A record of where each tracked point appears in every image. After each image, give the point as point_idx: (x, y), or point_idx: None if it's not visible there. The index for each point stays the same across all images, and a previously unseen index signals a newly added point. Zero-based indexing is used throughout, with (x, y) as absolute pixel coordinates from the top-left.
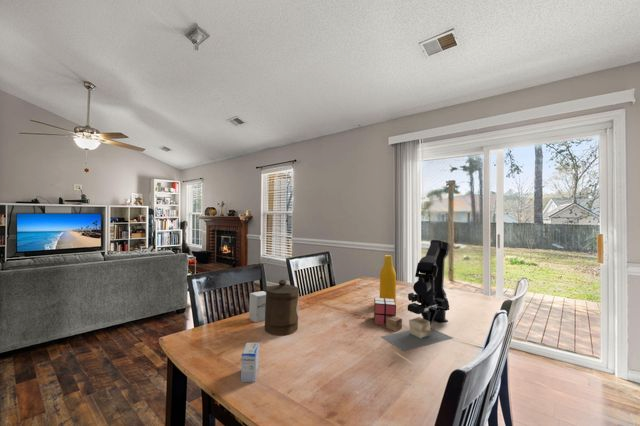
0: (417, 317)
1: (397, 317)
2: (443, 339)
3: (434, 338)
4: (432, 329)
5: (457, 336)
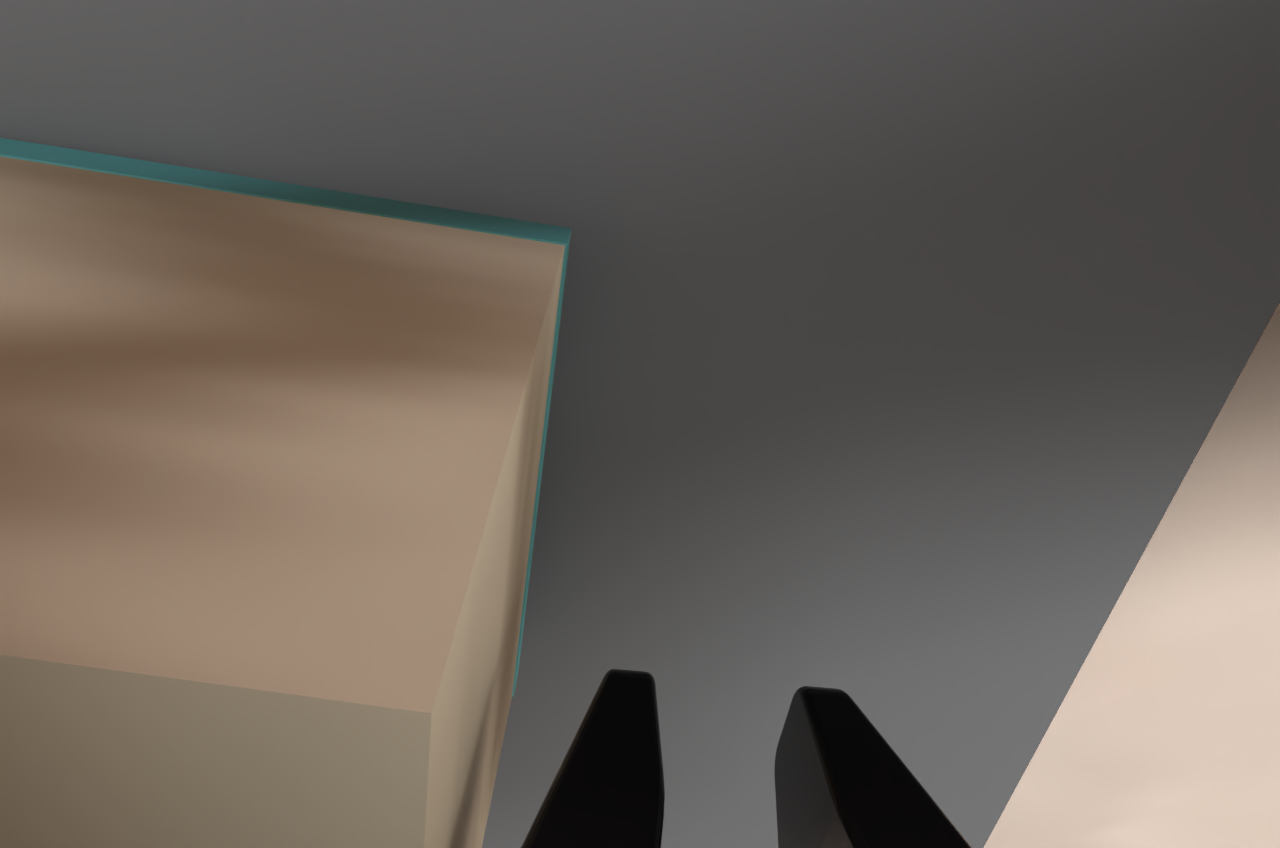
0: (183, 697)
1: None
2: (670, 836)
3: (510, 732)
4: (1175, 339)
5: (1183, 824)
